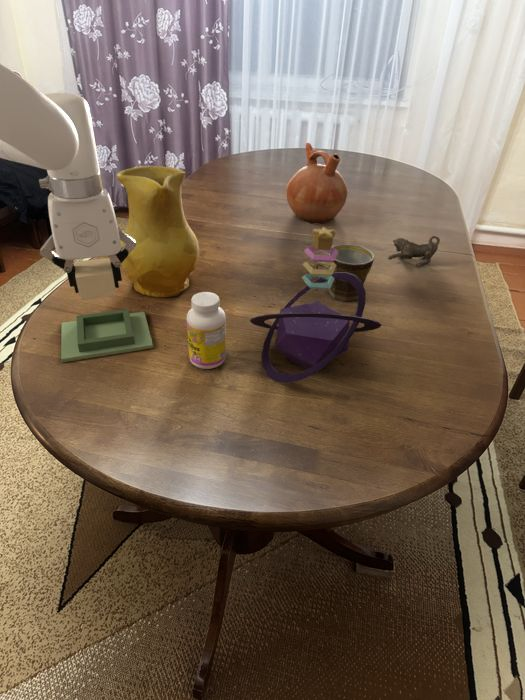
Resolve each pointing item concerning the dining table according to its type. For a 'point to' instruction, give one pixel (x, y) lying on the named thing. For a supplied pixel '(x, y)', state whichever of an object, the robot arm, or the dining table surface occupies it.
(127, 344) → the green rectangular tray
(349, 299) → the ceramic cup
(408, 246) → the dog figurine
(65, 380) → the dining table surface
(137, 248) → the pitcher
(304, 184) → the jug
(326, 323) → the purple faceted ringed piece
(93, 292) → the beige cube block
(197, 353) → the supplement bottle
